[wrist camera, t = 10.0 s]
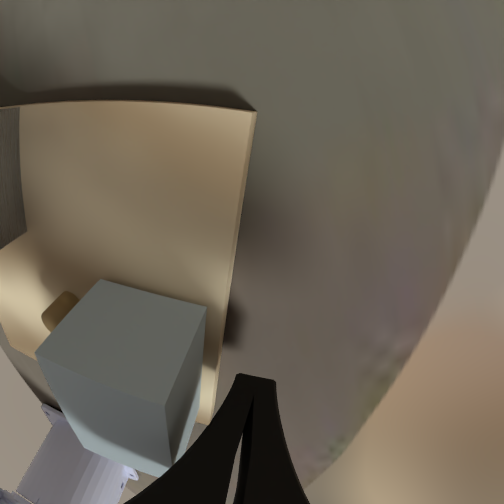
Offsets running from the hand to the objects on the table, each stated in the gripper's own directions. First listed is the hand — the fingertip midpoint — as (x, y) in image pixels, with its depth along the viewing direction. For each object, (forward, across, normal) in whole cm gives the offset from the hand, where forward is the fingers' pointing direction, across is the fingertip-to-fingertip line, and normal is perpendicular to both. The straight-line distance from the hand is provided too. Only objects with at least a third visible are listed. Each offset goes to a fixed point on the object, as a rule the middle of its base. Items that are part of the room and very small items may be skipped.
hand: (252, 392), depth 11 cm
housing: (+1, +4, 0) cm, 4 cm away
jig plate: (+2, +8, -2) cm, 9 cm away
